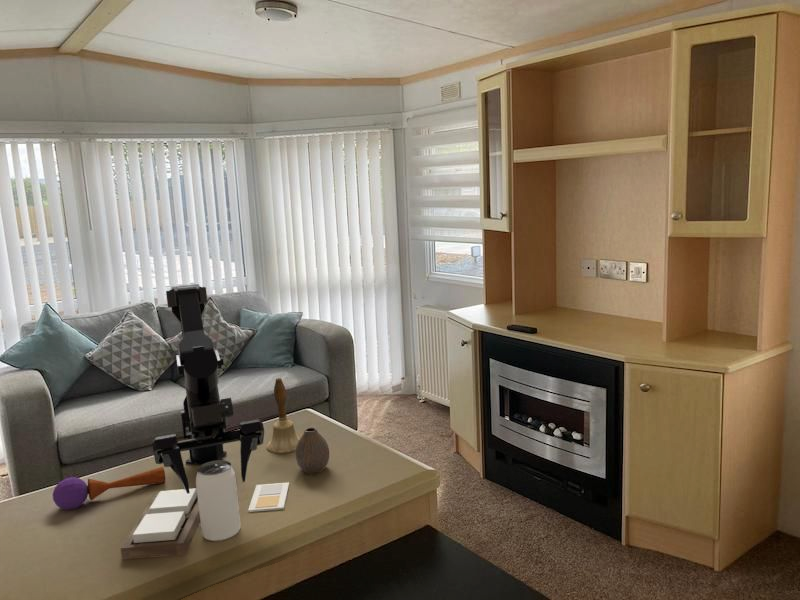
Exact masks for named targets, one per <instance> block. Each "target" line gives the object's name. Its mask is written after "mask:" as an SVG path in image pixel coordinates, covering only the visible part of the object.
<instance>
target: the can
mask: <svg viewBox="0 0 800 600" xmlns="http://www.w3.org/2000/svg"><path fill="white" fill-rule="evenodd" d="M196 472H197V474H196V477H195V485H196V486H195V487H196V489H197V496H198V505H199V513H200V527H201V534H202V535H201V536H202V537H203V538H204V539H205V540H207V541H210V542H221V541H222V542H223V541H227V540H229V539H231V538H233V537H235V536H236V535H237V534H238V533H239V532H240V531H241V530H240V529H241V528H242V527H241V526H242V525H241V516H240V507H239V499H238V496H239V495H238V490H237V489H238V487H237V479H236V473H235V469H233V467H232V463H231V462H230V461H228V460H226V459H225V460H224V459H219V460H216V461H211V462H207V463H205V464H202V465H200V466H198V468H197V469H196Z"/></svg>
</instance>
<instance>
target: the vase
mask: <svg viewBox="0 0 800 600" xmlns="http://www.w3.org/2000/svg"><path fill="white" fill-rule="evenodd" d="M299 438H300V440H299V441H298V443H297V446H296V451H295V460H296V463H297V466H298V468H299V469H301V470H302V471H303V472H304V473H306V474H309V475H310V474H311V475H313V474H318V473H320V472H322V471H324V470H325V468H326V467H327V466H328V463H329V460H330V448H329V444H328V443H327V440H326V439H325V438H324V437H323V436H322V435H321V434H320V433H319V431H318V429H317V428H316V427H307V428H305V429H304V430H303V434H302V436H301V437H299Z"/></svg>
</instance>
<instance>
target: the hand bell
mask: <svg viewBox="0 0 800 600" xmlns="http://www.w3.org/2000/svg"><path fill="white" fill-rule="evenodd" d="M273 394H274V395H273V396H274V399H275V402H276V404H277V409H278V411H277V412H278V421H276V422H274V424H273V426H272V428H273V429H272V436H271V439H270V441H269V442H268V443H267V444H266V450H267V451H269V452H270V453H273V454H287V453H292V452H296V446H297V443H298V441H299V440H300V438H301V437H299V436H298V434H297V432H296V429H295V426H294V422H293V421H292V420H289V419H288V418H287V412H286V400H287V391H286V386H285V383H284V382H283V379H282V378H281V377H278V378H275V384H274V387H273Z"/></svg>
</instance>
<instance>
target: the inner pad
mask: <svg viewBox="0 0 800 600" xmlns="http://www.w3.org/2000/svg"><path fill="white" fill-rule="evenodd" d="M189 492H190V493H188V494H187V492H186V490H185V489H184V488H182V489H170V490H159V493H158V494H157V495H156V496H157V497H156V499H155V500H154V502H153V504H152V505H151V507H150V508H149V510H150V514H156V513H168V512H180V511H184V512H185V515H187V514H189V513H190V511H191V509H192V506H193V503H194V501H195V499H196V497H197V488H189Z"/></svg>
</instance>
